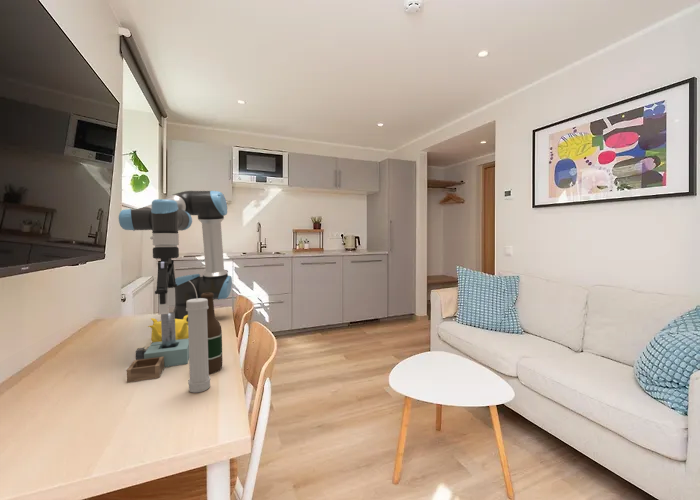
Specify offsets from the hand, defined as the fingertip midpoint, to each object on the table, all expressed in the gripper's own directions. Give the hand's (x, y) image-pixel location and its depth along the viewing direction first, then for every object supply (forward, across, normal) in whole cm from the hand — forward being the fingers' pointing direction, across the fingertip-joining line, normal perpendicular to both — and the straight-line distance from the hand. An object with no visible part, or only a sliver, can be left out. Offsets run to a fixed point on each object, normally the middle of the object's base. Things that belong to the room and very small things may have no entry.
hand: (167, 310), depth 105 cm
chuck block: (+17, -1, 0) cm, 17 cm away
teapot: (+17, -24, -3) cm, 29 cm away
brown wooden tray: (+17, +10, -4) cm, 20 cm away
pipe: (+18, +26, +11) cm, 34 cm away
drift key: (+17, -5, -5) cm, 18 cm away
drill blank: (+17, 0, 0) cm, 17 cm away
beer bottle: (+18, +13, +13) cm, 26 cm away
